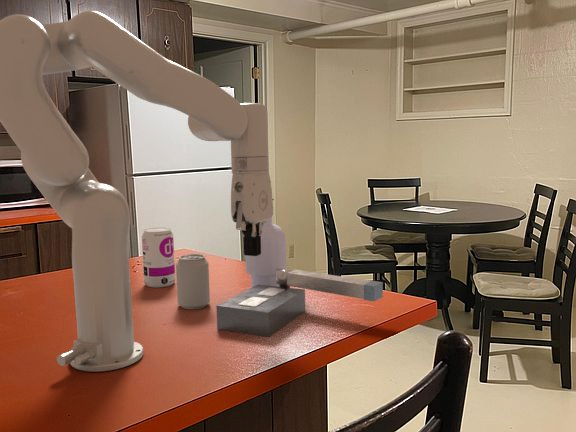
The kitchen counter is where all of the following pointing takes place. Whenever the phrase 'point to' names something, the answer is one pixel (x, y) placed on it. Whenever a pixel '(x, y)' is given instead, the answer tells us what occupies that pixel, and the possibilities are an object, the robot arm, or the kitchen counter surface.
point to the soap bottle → (268, 256)
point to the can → (192, 281)
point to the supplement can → (158, 257)
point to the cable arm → (330, 284)
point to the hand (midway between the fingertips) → (252, 254)
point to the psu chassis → (261, 309)
